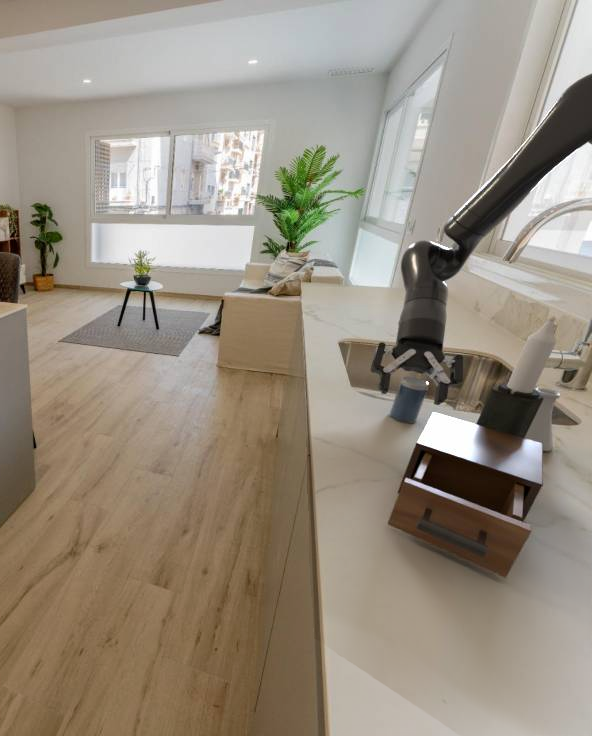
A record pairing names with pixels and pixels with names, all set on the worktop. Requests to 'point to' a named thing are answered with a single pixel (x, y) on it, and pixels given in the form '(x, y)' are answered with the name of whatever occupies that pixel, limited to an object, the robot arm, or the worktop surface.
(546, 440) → the flask
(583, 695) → the worktop surface
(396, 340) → the robot arm
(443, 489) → the drawer
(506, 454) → the cabinet
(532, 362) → the candle
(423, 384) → the blue tumbler
